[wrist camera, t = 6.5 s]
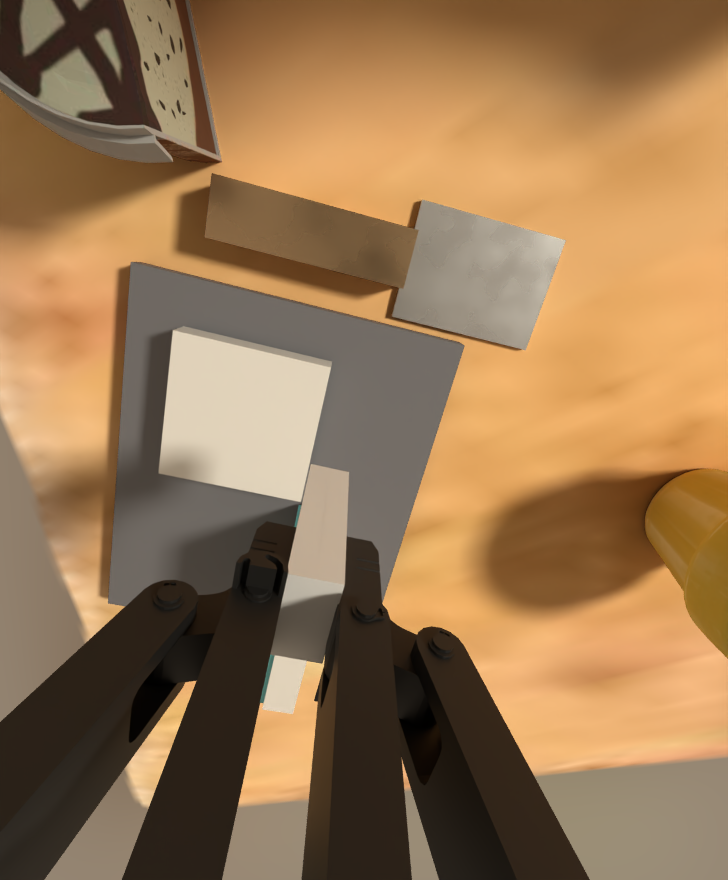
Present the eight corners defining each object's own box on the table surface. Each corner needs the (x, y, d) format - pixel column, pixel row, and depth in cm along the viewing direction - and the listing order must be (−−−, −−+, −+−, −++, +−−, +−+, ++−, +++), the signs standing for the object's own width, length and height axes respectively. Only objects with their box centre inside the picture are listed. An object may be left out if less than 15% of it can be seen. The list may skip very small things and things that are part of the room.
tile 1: (332, 360, 26) (186, 325, 25) (330, 367, 24) (172, 330, 23) (304, 486, 28) (171, 459, 27) (301, 502, 26) (158, 473, 25)
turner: (213, 270, 25) (200, 271, 23) (229, 146, 23) (216, 133, 21) (522, 348, 27) (538, 356, 25) (561, 240, 25) (582, 238, 23)
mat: (140, 262, 25) (130, 261, 23) (459, 342, 27) (464, 345, 25) (116, 591, 32) (107, 603, 31) (367, 634, 34) (368, 647, 33)
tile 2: (299, 500, 29) (282, 583, 21) (331, 506, 29) (325, 591, 21) (277, 602, 31) (254, 708, 24) (306, 607, 31) (292, 713, 24)
